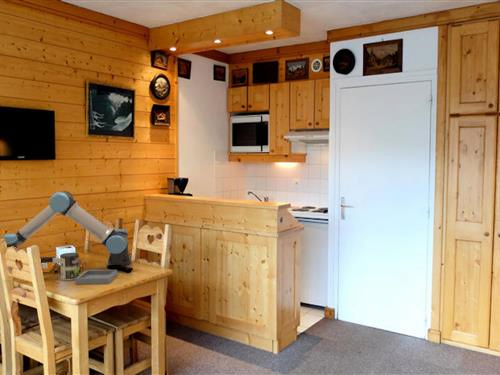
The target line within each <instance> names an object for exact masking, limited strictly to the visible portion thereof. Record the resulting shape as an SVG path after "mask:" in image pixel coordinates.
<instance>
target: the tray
mask: <svg viewBox="0 0 500 375" xmlns="http://www.w3.org/2000/svg"><path fill="white" fill-rule="evenodd" d="M117 276H118V270H117V269H86V270H84V271H83V272H81V274H79V276H78V277H77V278H75V279H74V281H75V285H109V284H110V283H111V282H112V281H113V280H115V278H116V277H117Z"/></svg>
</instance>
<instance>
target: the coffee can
mask: <svg viewBox="0 0 500 375" xmlns="http://www.w3.org/2000/svg"><path fill="white" fill-rule="evenodd" d="M79 255H80V253H78V252H65V253H61V254H60V255H59V258H60V280H62V281H72V280H74V281H75V278H77V277H78V276H79V275H80V261H79V260H80V258H79Z"/></svg>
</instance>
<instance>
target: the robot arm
mask: <svg viewBox="0 0 500 375" xmlns="http://www.w3.org/2000/svg"><path fill="white" fill-rule="evenodd" d="M48 202H49V205H47V207H45V208H44V209H43V210H41V211H40V212H39V213H38V214H37V215H35V216H34V217H33V218H32V219H31V220H29V222H27V223H26V224H25V225H24V226H22V228H20V229H19V230H18V231H16V232H15V233H9V234H8V233H7V234H4V235H3V237H2V238H3V239H5V241H6V243H7V247H11V246H14V247H16V248H17V249H19V247H20V246H22V245H23V244H24V243H25V242H26V241H27V240H28V239H29V238H31V237H32V236H33V235H34V234H35V233H37V232H38V231H39V230H40V229H41V228H43V227H44V226H45V225H46V224H47V223H49V222H50V221H51V220H53V218H54V217H56V216H57V215H59V214H60V215H62V216H63V217H69V218H70V219H72V220H73V222H76V223H77V224H79V225H80V226H81V227H82V228H83V229H85V230H86V231H88V232H89V233H90V234H92V235H94V237H96V238H97V239H98V240H100V244H101V245H103V246H104V247H105V248H106V250H107V252H109V255H108V258H107V265H108V266H109V265H121V266H120V267H122V266H123V267H124V266H128V265H130V264H132V259H131V256H130V252H129V232H128V229H126V228H123V229H120V228H119V229H117V228H116V229H114V228H109V227H108V226H106V225H105V224H103V222H101V221H100V220H98V219H97V218H96V217H94V216H93V215H92V214H90V213H89V212H88V211H86V210H85V209H84V208H82V207H81V206H80V205H79V203H78V201H77V200H76V199H75V198H74V196H73V194H72V193H71V192H69V191H66V190H61V191H58V192H55V193H54V194H52V196H51V197H50V199H49V201H48ZM39 257H40V258H41V264H42V268H41V269H49V263H58V264H59V263H60V257H56V256H46V257H45V256H44V257H43V256H39ZM60 264H61V263H60Z"/></svg>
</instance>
